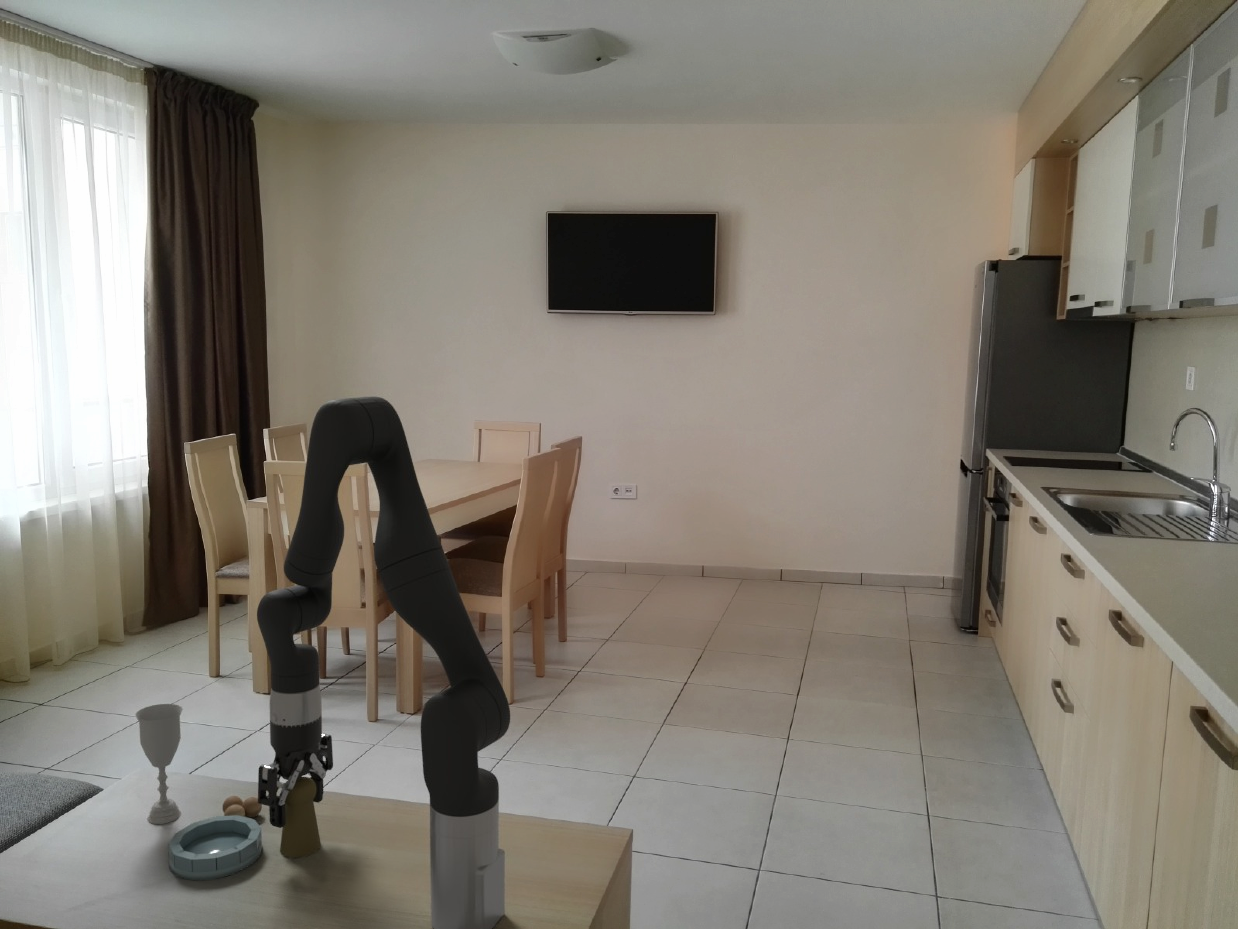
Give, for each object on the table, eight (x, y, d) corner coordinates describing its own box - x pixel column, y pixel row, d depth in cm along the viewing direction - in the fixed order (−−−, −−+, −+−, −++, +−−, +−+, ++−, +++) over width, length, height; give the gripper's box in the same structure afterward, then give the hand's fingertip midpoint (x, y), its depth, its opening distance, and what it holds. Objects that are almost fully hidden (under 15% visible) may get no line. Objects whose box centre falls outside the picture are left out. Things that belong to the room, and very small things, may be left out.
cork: (307, 860, 142) (306, 791, 141) (272, 855, 143) (269, 787, 142) (327, 839, 148) (326, 774, 147) (293, 835, 149) (291, 770, 148)
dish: (280, 844, 146) (279, 825, 146) (217, 888, 134) (216, 867, 134) (215, 827, 151) (215, 808, 151) (149, 868, 139) (148, 848, 139)
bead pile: (265, 811, 157) (265, 793, 156) (250, 829, 151) (250, 811, 150) (227, 810, 157) (227, 792, 156) (211, 828, 151) (210, 810, 150)
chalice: (196, 813, 155) (192, 710, 153) (157, 831, 150) (152, 724, 147) (170, 802, 159) (165, 700, 157) (131, 818, 153) (126, 713, 151)
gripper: (283, 736, 135) (285, 841, 137) (345, 701, 148) (346, 797, 150) (242, 726, 138) (245, 829, 140) (307, 693, 151) (308, 788, 153)
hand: (297, 813), depth 145 cm, fingers open, 8 cm apart
